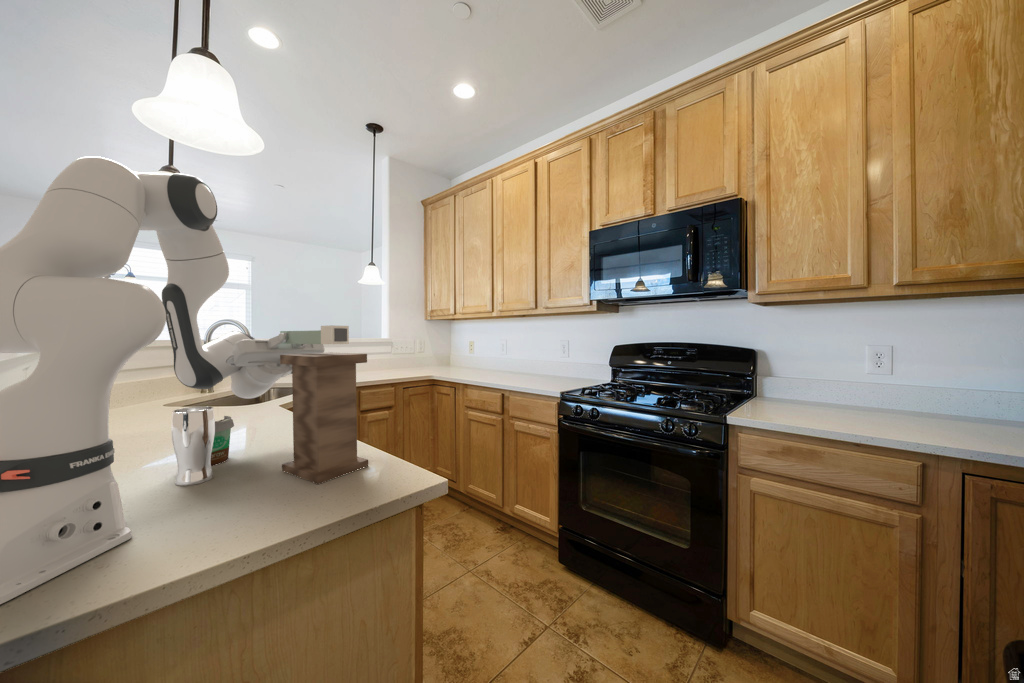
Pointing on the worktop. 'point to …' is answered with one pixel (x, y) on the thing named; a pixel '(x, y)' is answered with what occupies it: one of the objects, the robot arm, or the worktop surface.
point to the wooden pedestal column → (324, 415)
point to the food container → (221, 440)
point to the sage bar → (320, 336)
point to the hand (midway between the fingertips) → (294, 335)
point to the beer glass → (193, 443)
